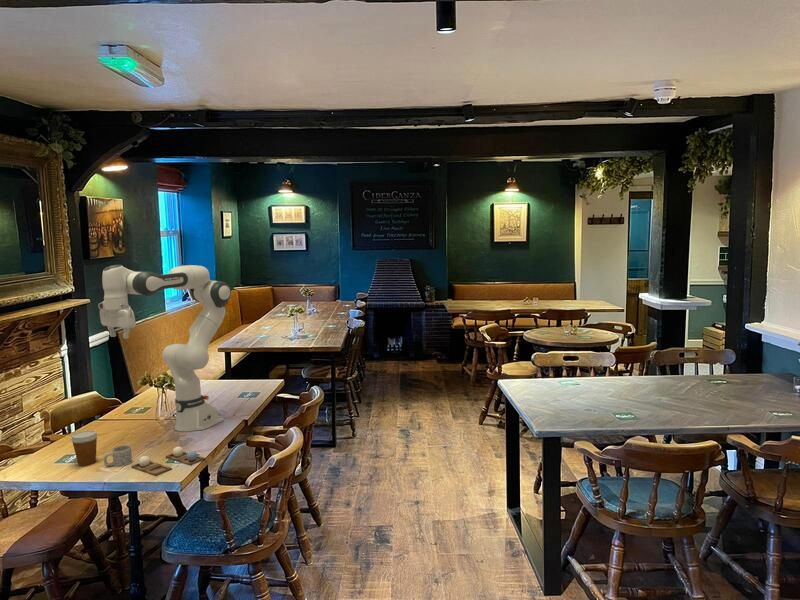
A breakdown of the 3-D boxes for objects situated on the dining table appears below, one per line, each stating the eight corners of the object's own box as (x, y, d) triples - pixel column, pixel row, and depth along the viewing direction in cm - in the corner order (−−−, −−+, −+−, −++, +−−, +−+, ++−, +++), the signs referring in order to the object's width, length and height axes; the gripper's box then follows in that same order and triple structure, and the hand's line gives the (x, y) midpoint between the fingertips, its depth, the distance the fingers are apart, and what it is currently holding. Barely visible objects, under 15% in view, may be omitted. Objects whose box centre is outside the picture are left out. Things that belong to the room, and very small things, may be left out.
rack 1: (131, 469, 230) (131, 465, 230) (147, 462, 236) (147, 459, 235) (155, 477, 221) (155, 474, 221) (172, 471, 227) (172, 467, 226)
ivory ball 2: (179, 453, 242) (178, 444, 242) (185, 455, 240) (185, 446, 240) (171, 457, 239) (170, 447, 239) (177, 459, 237) (176, 449, 236)
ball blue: (193, 458, 237) (192, 448, 237) (199, 460, 235) (199, 450, 235) (185, 461, 234) (184, 451, 234) (191, 463, 232) (190, 453, 231)
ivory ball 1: (146, 463, 233) (145, 453, 233) (152, 465, 231) (151, 455, 231) (137, 467, 230) (136, 457, 230) (143, 469, 228) (142, 459, 227)
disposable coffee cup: (70, 463, 238) (67, 434, 236) (95, 456, 244) (92, 428, 243) (77, 469, 231) (74, 440, 230) (103, 462, 238) (100, 433, 236)
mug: (130, 459, 240) (128, 444, 239) (134, 464, 234) (132, 448, 233) (103, 466, 234) (101, 450, 233) (106, 471, 228) (104, 455, 228)
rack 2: (165, 459, 239) (165, 456, 239) (180, 453, 245) (180, 450, 244) (190, 467, 230) (190, 463, 230) (205, 460, 236) (205, 457, 235)
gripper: (138, 304, 242) (141, 338, 243) (110, 302, 253) (113, 334, 255) (123, 306, 237) (126, 340, 238) (95, 304, 248) (99, 336, 250)
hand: (119, 337), depth 247 cm, fingers open, 8 cm apart
